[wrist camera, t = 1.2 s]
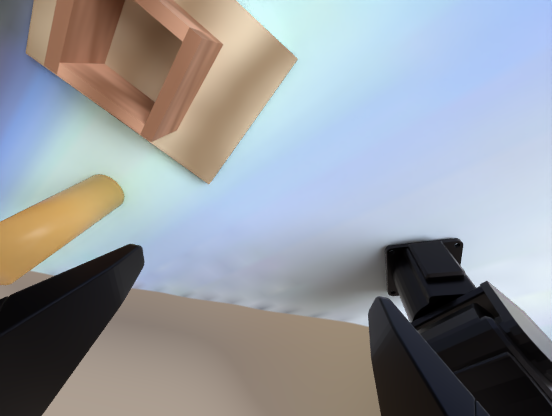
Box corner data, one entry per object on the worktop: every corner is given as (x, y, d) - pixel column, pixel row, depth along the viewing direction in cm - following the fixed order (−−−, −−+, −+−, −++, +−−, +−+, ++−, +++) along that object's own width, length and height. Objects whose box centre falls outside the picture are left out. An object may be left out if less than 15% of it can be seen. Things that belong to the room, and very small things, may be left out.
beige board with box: (297, 59, 17) (294, 56, 13) (211, 180, 22) (191, 204, 18) (73, -154, 13) (-26, -246, 9) (36, 53, 19) (-36, 49, 15)
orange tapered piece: (130, 204, 25) (-72, 357, 12) (101, 209, 25) (-119, 358, 12) (111, 171, 23) (-151, 306, 10) (81, 178, 24) (-199, 311, 11)
